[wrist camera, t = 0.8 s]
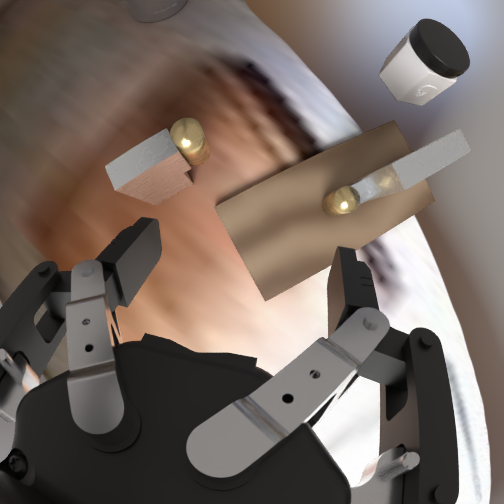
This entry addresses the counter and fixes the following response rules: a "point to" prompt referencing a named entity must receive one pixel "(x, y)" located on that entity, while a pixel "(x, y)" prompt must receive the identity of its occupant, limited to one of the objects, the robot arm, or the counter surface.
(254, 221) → the jig board
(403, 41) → the jar
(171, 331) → the counter surface
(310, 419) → the robot arm
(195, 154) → the brushed metal block
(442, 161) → the fixed leaf
